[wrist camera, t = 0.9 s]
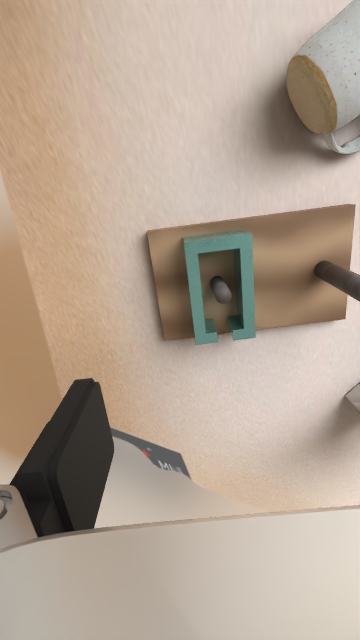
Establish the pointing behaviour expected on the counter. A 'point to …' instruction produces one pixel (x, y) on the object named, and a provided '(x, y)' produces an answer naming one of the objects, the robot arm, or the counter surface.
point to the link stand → (261, 270)
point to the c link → (244, 283)
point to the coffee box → (355, 397)
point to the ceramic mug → (329, 78)
